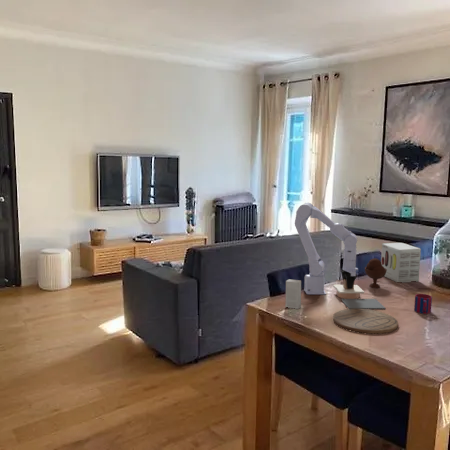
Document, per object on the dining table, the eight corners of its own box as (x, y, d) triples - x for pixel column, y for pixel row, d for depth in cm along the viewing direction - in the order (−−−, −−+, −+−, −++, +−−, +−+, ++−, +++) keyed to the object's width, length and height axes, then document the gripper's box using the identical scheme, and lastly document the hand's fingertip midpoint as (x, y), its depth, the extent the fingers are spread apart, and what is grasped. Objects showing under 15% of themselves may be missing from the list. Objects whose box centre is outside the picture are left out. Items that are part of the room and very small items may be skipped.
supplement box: (379, 274, 261) (381, 243, 259) (400, 273, 264) (402, 242, 262) (397, 283, 245) (399, 249, 242) (419, 281, 248) (421, 248, 245)
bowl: (340, 299, 217) (340, 292, 216) (335, 292, 227) (335, 286, 226) (361, 299, 217) (361, 292, 217) (355, 292, 227) (355, 286, 226)
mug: (430, 309, 202) (431, 294, 201) (431, 317, 193) (432, 301, 192) (414, 307, 205) (415, 293, 204) (414, 315, 196) (415, 299, 195)
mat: (348, 309, 203) (349, 307, 202) (341, 299, 215) (341, 298, 215) (385, 309, 203) (385, 307, 203) (375, 299, 216) (375, 298, 216)
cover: (339, 293, 216) (339, 283, 215) (333, 286, 227) (333, 276, 226) (364, 293, 216) (364, 283, 215) (356, 286, 227) (357, 276, 227)
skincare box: (301, 306, 206) (301, 280, 204) (298, 309, 202) (299, 282, 200) (287, 304, 208) (288, 278, 207) (284, 307, 205) (285, 281, 203)
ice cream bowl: (389, 289, 232) (390, 260, 230) (366, 289, 232) (368, 260, 230) (382, 283, 243) (384, 255, 240) (361, 283, 243) (362, 255, 241)
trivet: (320, 320, 189) (320, 316, 189) (359, 309, 204) (359, 304, 204) (371, 340, 170) (372, 335, 169) (410, 325, 184) (411, 321, 184)
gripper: (362, 262, 212) (361, 291, 214) (353, 255, 226) (352, 282, 228) (347, 262, 212) (346, 291, 214) (339, 255, 226) (338, 282, 228)
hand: (348, 287), depth 221 cm, fingers closed on cover, 4 cm apart
